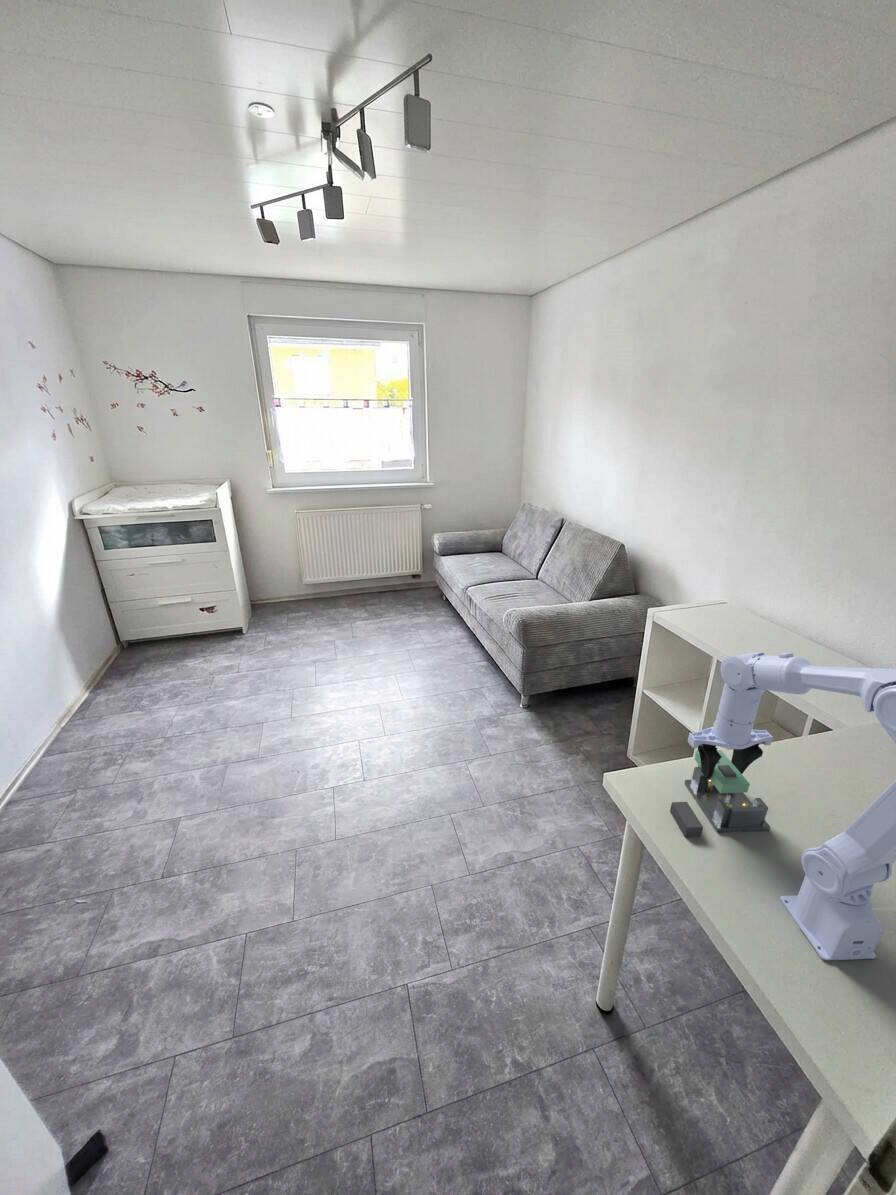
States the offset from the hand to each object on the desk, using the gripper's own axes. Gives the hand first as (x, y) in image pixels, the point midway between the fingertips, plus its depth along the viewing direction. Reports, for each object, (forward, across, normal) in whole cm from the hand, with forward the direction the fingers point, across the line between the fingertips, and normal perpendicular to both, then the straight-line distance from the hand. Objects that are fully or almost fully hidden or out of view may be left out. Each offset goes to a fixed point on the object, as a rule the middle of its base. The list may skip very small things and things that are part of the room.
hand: (720, 774), depth 90 cm
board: (0, 0, 0) cm, 0 cm away
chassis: (+9, -4, -1) cm, 10 cm away
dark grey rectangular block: (+9, +6, +2) cm, 12 cm away
